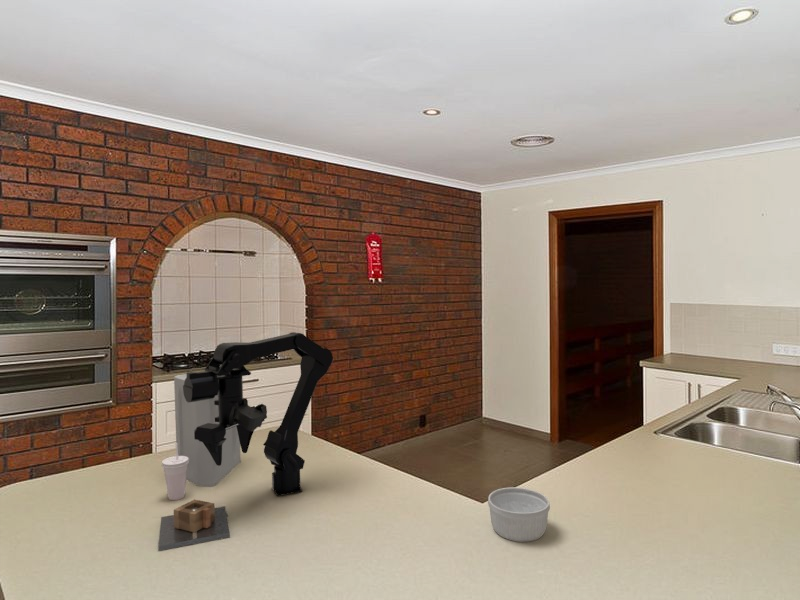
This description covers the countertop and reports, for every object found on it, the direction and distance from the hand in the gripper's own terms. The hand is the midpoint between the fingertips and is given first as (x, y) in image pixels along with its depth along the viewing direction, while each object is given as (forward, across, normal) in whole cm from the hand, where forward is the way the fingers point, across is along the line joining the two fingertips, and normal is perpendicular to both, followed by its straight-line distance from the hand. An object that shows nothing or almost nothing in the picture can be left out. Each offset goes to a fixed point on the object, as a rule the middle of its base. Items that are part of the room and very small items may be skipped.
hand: (232, 458), depth 126 cm
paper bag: (+12, +15, +23) cm, 30 cm away
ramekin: (+12, +14, -66) cm, 69 cm away
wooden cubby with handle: (+11, -12, +1) cm, 16 cm away
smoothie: (+12, -1, +18) cm, 22 cm away
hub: (+12, -12, +1) cm, 17 cm away
